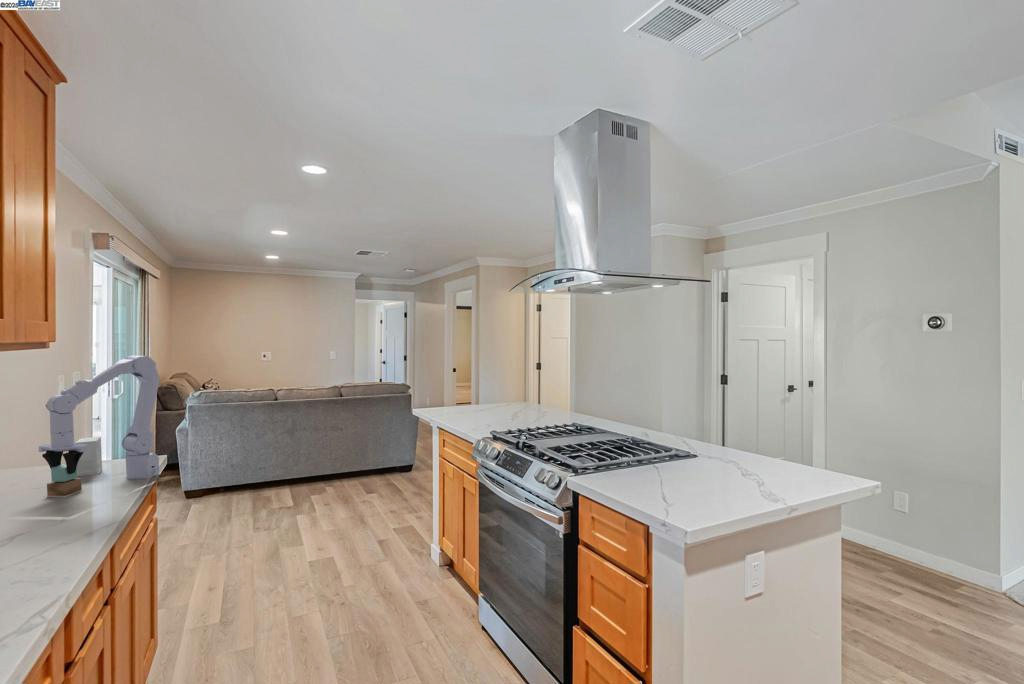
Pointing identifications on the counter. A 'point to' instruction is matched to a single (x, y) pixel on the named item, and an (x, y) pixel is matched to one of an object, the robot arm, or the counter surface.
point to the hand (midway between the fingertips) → (64, 473)
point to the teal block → (62, 474)
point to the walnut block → (64, 487)
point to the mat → (63, 496)
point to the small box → (90, 457)
